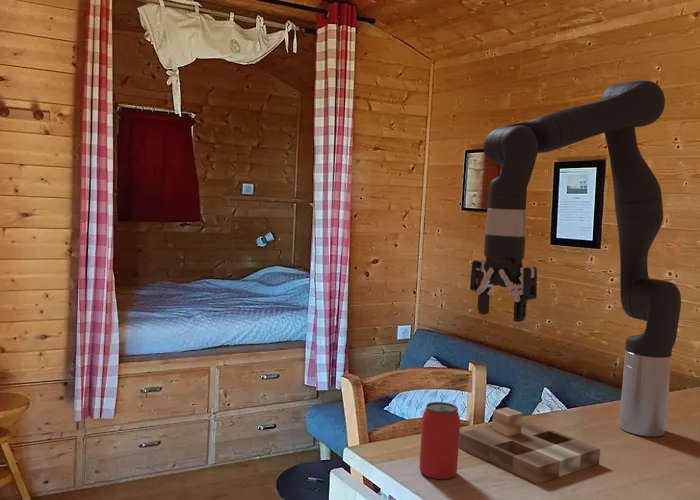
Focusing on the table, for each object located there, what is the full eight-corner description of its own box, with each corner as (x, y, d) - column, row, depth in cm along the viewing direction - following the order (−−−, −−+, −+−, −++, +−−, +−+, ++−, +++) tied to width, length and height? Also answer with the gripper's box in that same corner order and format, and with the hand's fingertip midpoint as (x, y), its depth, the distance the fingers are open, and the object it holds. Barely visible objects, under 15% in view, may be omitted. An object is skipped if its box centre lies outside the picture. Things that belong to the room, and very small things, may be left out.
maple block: (505, 426, 135) (506, 407, 134) (521, 432, 131) (522, 413, 131) (491, 429, 132) (493, 410, 132) (507, 436, 129) (508, 416, 129)
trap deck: (519, 432, 141) (520, 418, 140) (599, 464, 125) (600, 448, 125) (458, 447, 130) (459, 432, 130) (536, 484, 115) (538, 467, 115)
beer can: (433, 483, 113) (437, 414, 112) (412, 468, 119) (415, 402, 118) (464, 477, 116) (468, 410, 115) (442, 463, 122) (446, 399, 121)
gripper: (549, 235, 123) (543, 322, 124) (489, 230, 134) (485, 310, 135) (522, 236, 118) (517, 326, 119) (463, 230, 129) (459, 313, 131)
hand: (500, 317), depth 127 cm, fingers open, 8 cm apart
